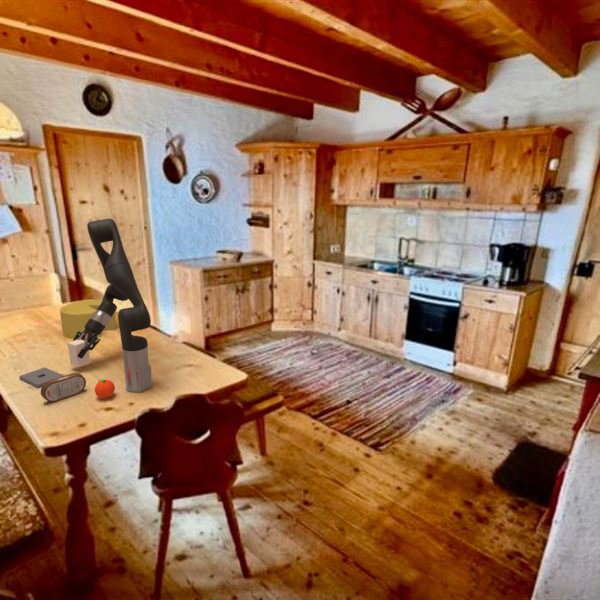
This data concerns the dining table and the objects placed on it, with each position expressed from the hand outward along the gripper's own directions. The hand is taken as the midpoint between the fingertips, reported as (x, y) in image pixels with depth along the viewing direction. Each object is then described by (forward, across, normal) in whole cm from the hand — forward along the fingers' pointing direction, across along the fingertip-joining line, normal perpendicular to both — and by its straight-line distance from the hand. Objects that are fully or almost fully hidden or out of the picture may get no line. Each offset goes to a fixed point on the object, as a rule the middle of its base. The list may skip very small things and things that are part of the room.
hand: (75, 355), depth 168 cm
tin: (+16, +18, -5) cm, 25 cm away
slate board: (+14, -4, -4) cm, 15 cm away
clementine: (+10, +30, 0) cm, 31 cm away
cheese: (-18, -41, +28) cm, 53 cm away
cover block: (+2, 0, +4) cm, 5 cm away
